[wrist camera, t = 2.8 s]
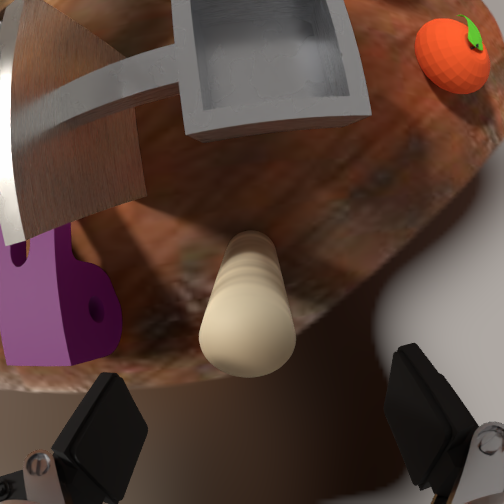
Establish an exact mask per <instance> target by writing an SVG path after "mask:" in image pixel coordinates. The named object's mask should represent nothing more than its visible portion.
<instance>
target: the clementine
mask: <svg viewBox="0 0 504 504" xmlns="http://www.w3.org/2000/svg"><path fill="white" fill-rule="evenodd" d="M457 16H462V17H465V18H466V19H467V21H468V26H466V25H464V24H463V23H460V22H458V21H455V20H452V19H443V18H442V19H434V20H432V21H429V22H427V23H426V24H424V25H423V26H422V27H421V29H420V30H419V32H418V33H417V36H416V41H415V54H416V57H417V60H418V63H419V65H420V67H421V69H422V70H423V72H424V73H425V75H426V76H427V77H428V78H429V79H430V80H431V81H432V82H433V83H434V84H436V85H437V86H438V87H440V88H441V89H444V90H446V91H449V92H451V93H455V94H469V93H473V92H475V91H477V90H479V89H480V88H481V87H482V86H483V85H484V84H485V82H486V81H487V79H488V76H489V72H490V59H489V55H488V52H487V50H486V47H485V45H484V43H483V42H482V39H481V36H480V33H479V31H478V29H477V27H476V26H475V25H474V23H473V22H472V21H471V20H470V19H469V18H467V17H466V16H464V15H457Z"/></svg>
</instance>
